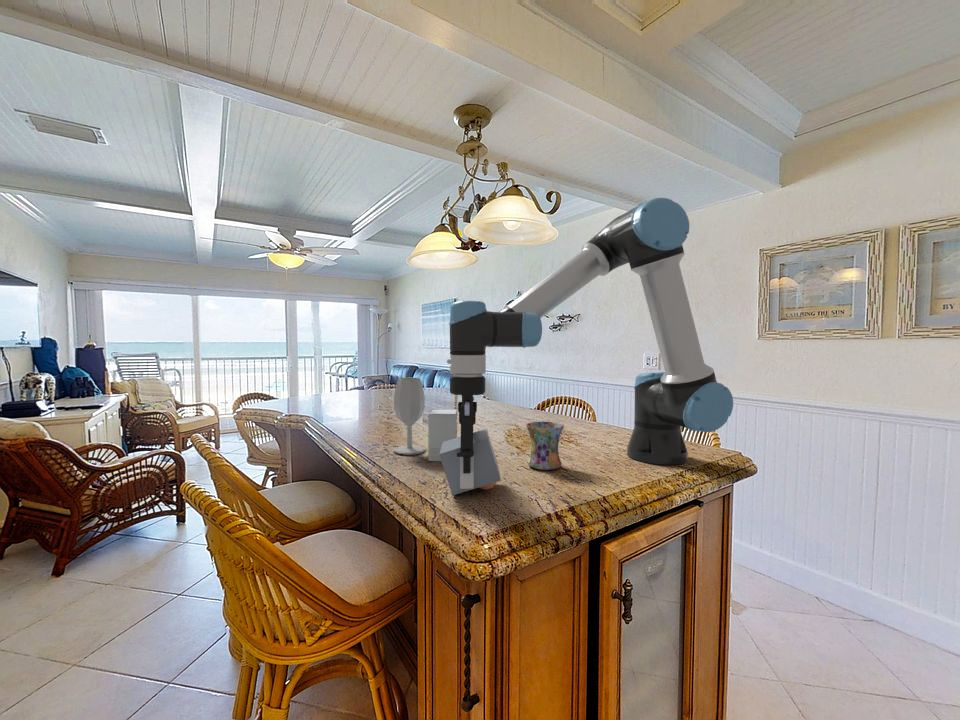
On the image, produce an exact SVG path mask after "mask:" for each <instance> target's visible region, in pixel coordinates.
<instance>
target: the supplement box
mask: <svg viewBox="0 0 960 720" xmlns="http://www.w3.org/2000/svg"><path fill="white" fill-rule="evenodd" d="M427 419H428V421H427V422H428V425H427V427H428V429H427V430H428V433H427V434H428V435H427V439H428V441H427V443H428V444H427V445H428V447H427V448H428V451H427V453H428V459H427V461H429V462H442V461H441V458H440V455H439V453H440V450H441V447H442V444H443V442H445V441H448V440H451V439H454V438H458V409H432V410H430V412H429V413H428V418H427Z"/></svg>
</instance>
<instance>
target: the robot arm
mask: <svg viewBox="0 0 960 720" xmlns="http://www.w3.org/2000/svg"><path fill="white" fill-rule="evenodd" d="M689 233H690V220H689V216H688V214H687V212H686V211H685V209H684V208H683V206H681V205H680V204H679V203H678V202H676V201H673V200H672V199H670V198H667V197H655V198H652V199H649V200H647V201H644V202H642V203H639V204H638V205H637V206H635V207H633V208H632V209H629V210H628V211H626V212H625V213H623V214H621V215H619V216H617V217H616V218H614V219H612V221H610V222H609V223H608V224H607V225H605V226H604V227H603V228H602V229H601V230H600V231H599V232H598V233H597V234H595V235H594V236H593V237H592V238H591V239H589V240H587V242H585V243H584V244H583V245H582V247H581V251H580V252H578V253H577V254H576V255H575V256H573V257H572V258H571V259H569V260H567V261H566V262H565V263H564V264H561V266H560V267H558V268H556V269H555V270H554V271H552V272H551V273H550V274H548V275H547V276H545V277H544V278H543V279H542V280H540V281H539V282H537V283H536V284H535V285H534V286H532V287H530V289H528V290H526V291H525V292H524V293H522V294H521V295H520V296H519V297H517V298H516V299H514V300H512V301H511V302H510V303H508V305H506V306H505V307H504V308H502V309H501V310H499V311H489V310H487V308H486V307H487V306H486V303H485V302H484V301H480V300H479V301H478V300H458V301H454V302H453V303H452V304H451V305H450V310H449V311H450V315H449V324H448V325H449V359H447V361H446V364H448V365H450V366H449V373H450V374H452V375H451V376H450V377H449V393H450V394H452V395H454V396H461V401H458V402H457V413H458V423H459V425H460V437H461V448H460V453H457V457H460V489H472V490H474V452H473V433H474V425H475V424H476V423H477V422H476V421H477V420H476V418H477V417H476V413H477V412H478V403H477V401H475V397H474V396H480V395H481V396H482V395H485V393H486V377H485V376H484V374H486V373H487V372H486V371H487V367H486V366H487V365H486V364H487V363H486V362H487V359H486V358H487V355H486V348H494V347H495V348H523V349H525V348H534V347H537V346H538V345H539V344H540V342H541V340H542V336H543V322H542V318H543V317H544V316H546V315H548V314H549V313H550V312H551V311H552V310H555V308H557V307H558V306H560V305H561V304H562V303H564V302H565V301H566V300H568V299H569V298H570V297H571V296H573V295H574V294H576V293H577V292H578V291H580V290H581V289H582V288H584V287H585V286H586V285H588V284H589V283H590V282H592V281H593V280H595V279H596V278H597V277H599V276H600V277H601V276H603V277H604V276H606V275H608V274H609V273H610V272H612V271H614V270H615V269H618V268H620V267H621V266H625V265H626V264H629V267H630V271H631V272H633V273H635V274H637V275H639V276H640V282H641V285H642V288H643V293H644V297H645V301H646V304H647V308H648V311H649V315H650V316H649V317H650V319H651V323H652V327H653V331H654V334H655V338H656V342H657V346H658V349H659V353H660V357H661V361H662V365H663V368H664V371H662V372H661V371H660V372H646V373H640V374H638V375H637V376H635V381H634V387H633V389H634V420H633V421H634V425H633V430H632V433H631V434H630V438H629V441H628V444H627V445H626V446H627V447H626V449H627V450H626V455H627V457H628V458H631V459H632V460H634V461H639V462H642V463H647V464H654V465H666V466H668V465H669V466H670V465H673V466H674V465H675V466H676V465H682V464H685V463H687V462H688V457H689V455H688V449H687V447H686V443H685V440H684V436H683V434H682V428H681V427H683V428H687V430H689V431H693V432H700V433H711V432H712V433H713V432H715V431H717V430H719V429H720V428H722V427H723V426H724V425H725V424H726V423H727V422H728V420H729V418H730V417H731V415H732V412H733V409H734V397H733V394H732V392H731V391H730V389H729V388H728V387H727V386H725V385H724V384H722V383H720V382H718V381H717V378H716V375H715V370H714V368H713V367H712V366H709V365H708V364H706V363H705V361H704V357H703V353H702V349H701V343H700V341H699V337H698V332H697V329H696V325H695V321H694V317H693V313H692V312H693V311H692V309H691V306H690V301H689V297H688V294H687V290H686V285H685V282H684V277H683V273H682V269H681V267H680V263H681V261H682V259H683V257H684V255H685V250H684V246H683V244H684V242H685V241H686V240H687V238H688V234H689ZM463 449H470V450H463Z"/></svg>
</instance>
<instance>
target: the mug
mask: <svg viewBox="0 0 960 720" xmlns="http://www.w3.org/2000/svg"><path fill="white" fill-rule="evenodd" d="M525 426H526V429H527V431H528V435H529V439H530V444H531V445H530V446H531V447H530V448H531V449H530V454H529V458H528V460H527V464H528V466H529V467H531V468H534V469H537V470H543V471H549V470H550V471H551V470H552V471H553V470H556V469H559V468H560V467H562V461H561V458H560V455H559V454H560V453H559V444H560V443H559V442H560V438H561V435H562V432H563V429H564V427H565V426H564V424H562V423H560V422H554V421H544V420H543V421H532V422H531V421H530V422H528V423H526V425H525Z"/></svg>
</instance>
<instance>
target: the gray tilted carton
mask: <svg viewBox="0 0 960 720" xmlns="http://www.w3.org/2000/svg"><path fill="white" fill-rule="evenodd" d="M460 448H461V436H459V437H458V436H457V438H454V439H451V440H448V441H445V442H443V444H442V447H441V450H440V453H439V455H440V458H441V461H440V462H441V463H442V467H443V470H444V474H445V478H446V481H447V482H448V483H447V484H448V486H449V490H450V492H451V496H455V495H459V494H462V493H464V492H465V493H466V492H468V491H471V490H474V489H478V488H479V487H482V486H485V485H488V484H491V483H495V482H496V483H497V482H500V481H501V474H500V468H499V464H498V461H497V458H496V454H495V451H494V448H493V445H492V441H491V438H490V434H489V431H488V428H483V429H480V430H477V431H473V452H474V489H460V457H457V453H460ZM463 450H470V449H463Z"/></svg>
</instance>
